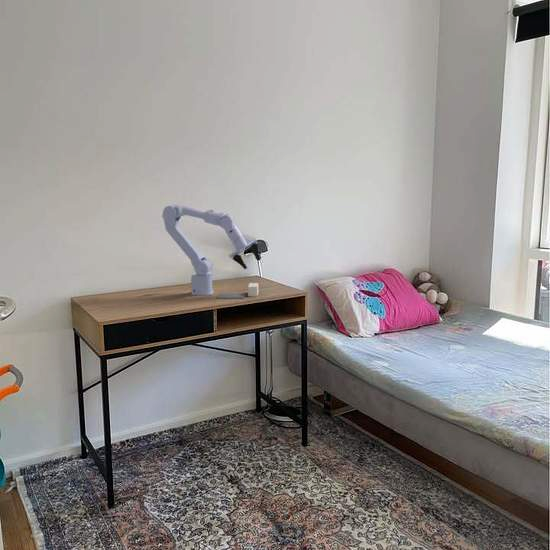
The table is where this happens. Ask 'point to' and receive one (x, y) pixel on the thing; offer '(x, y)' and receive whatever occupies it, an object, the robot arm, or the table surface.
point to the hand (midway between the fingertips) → (252, 264)
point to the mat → (231, 295)
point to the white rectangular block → (253, 289)
